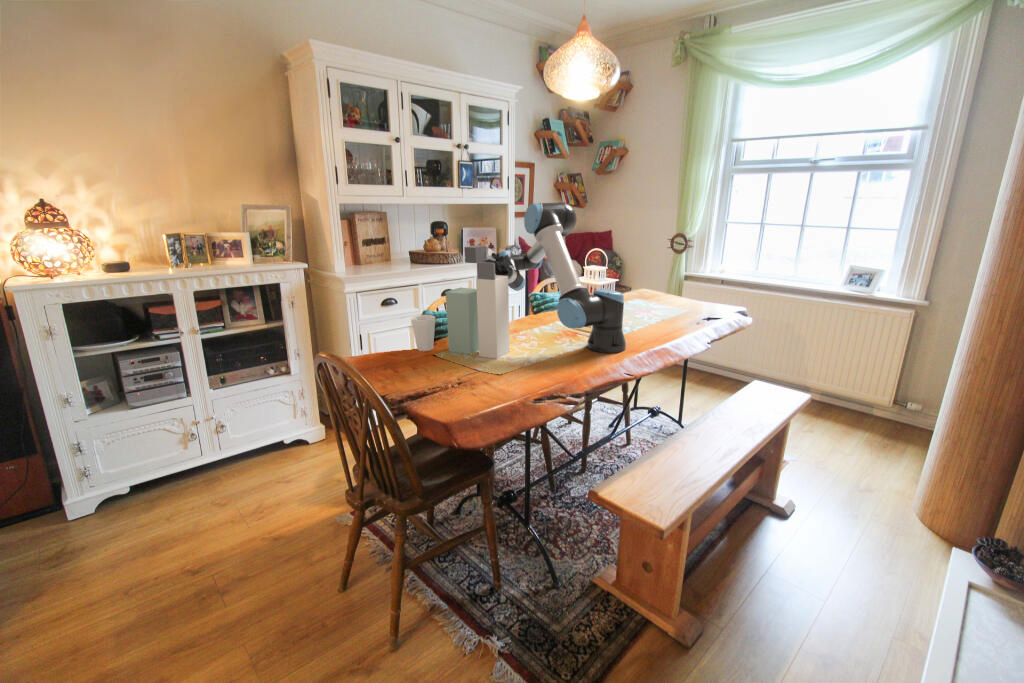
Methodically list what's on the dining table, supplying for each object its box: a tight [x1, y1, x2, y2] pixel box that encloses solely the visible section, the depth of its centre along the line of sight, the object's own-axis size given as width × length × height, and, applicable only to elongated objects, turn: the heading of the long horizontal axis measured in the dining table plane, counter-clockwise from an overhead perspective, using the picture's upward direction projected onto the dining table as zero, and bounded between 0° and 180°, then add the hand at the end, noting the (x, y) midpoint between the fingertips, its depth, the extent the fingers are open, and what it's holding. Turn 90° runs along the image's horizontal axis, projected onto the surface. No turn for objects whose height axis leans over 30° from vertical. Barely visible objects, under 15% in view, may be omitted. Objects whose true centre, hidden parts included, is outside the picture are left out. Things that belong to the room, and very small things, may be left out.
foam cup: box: [410, 314, 436, 352], centre depth 190 cm, size 10×9×13 cm
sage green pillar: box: [445, 287, 479, 355], centre depth 186 cm, size 10×10×24 cm
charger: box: [463, 244, 497, 264], centre depth 192 cm, size 5×18×6 cm, turn 152°
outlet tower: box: [475, 262, 511, 360], centre depth 179 cm, size 8×10×36 cm
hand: (481, 250), depth 191 cm, fingers closed on charger, 5 cm apart
